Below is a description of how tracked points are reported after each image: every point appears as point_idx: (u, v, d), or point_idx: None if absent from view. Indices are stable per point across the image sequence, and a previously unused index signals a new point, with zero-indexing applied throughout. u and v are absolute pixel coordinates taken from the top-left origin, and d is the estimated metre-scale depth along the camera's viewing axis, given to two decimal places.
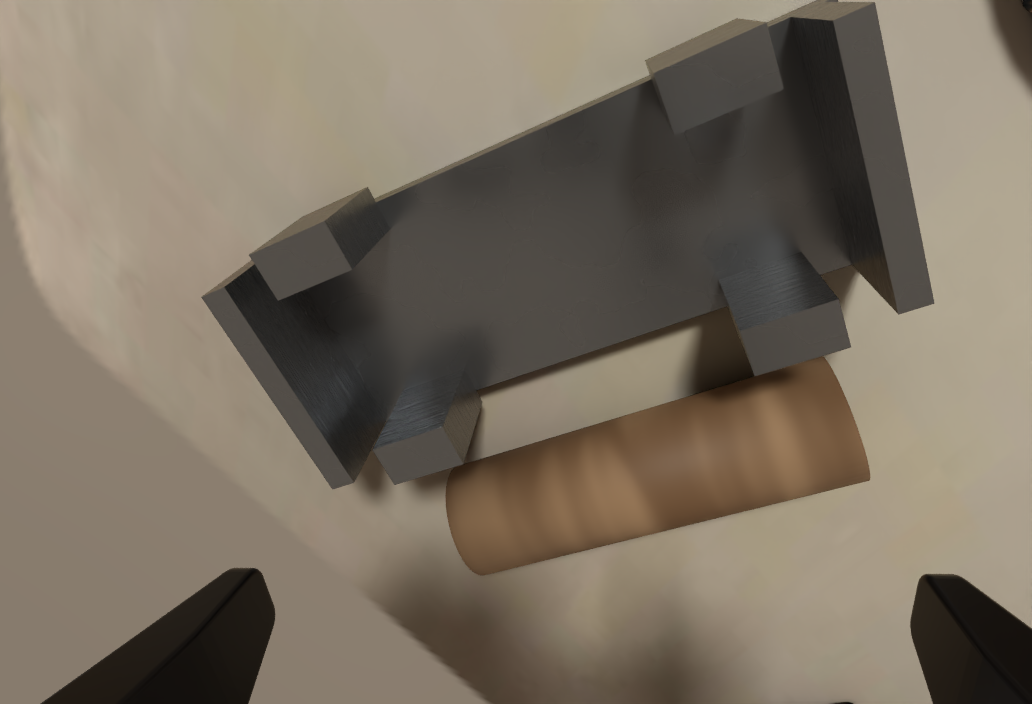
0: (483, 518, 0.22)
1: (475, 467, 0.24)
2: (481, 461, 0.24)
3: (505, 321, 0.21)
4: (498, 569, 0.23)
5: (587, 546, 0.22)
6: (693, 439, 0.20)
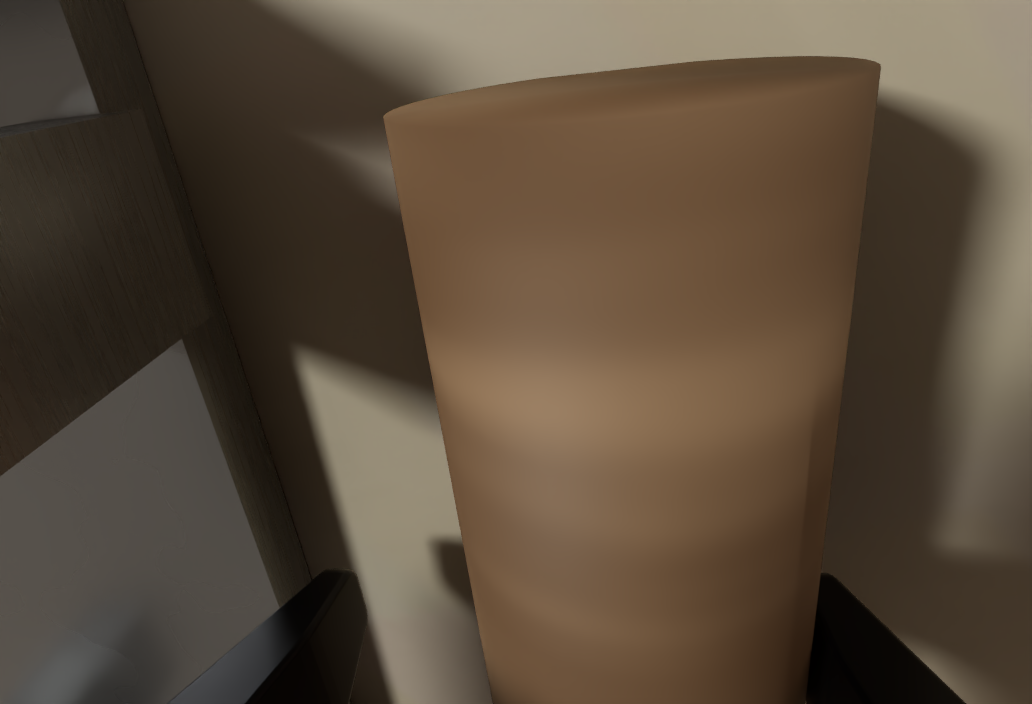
0: None
1: None
2: None
3: (196, 676, 0.11)
4: None
5: None
6: (555, 626, 0.06)
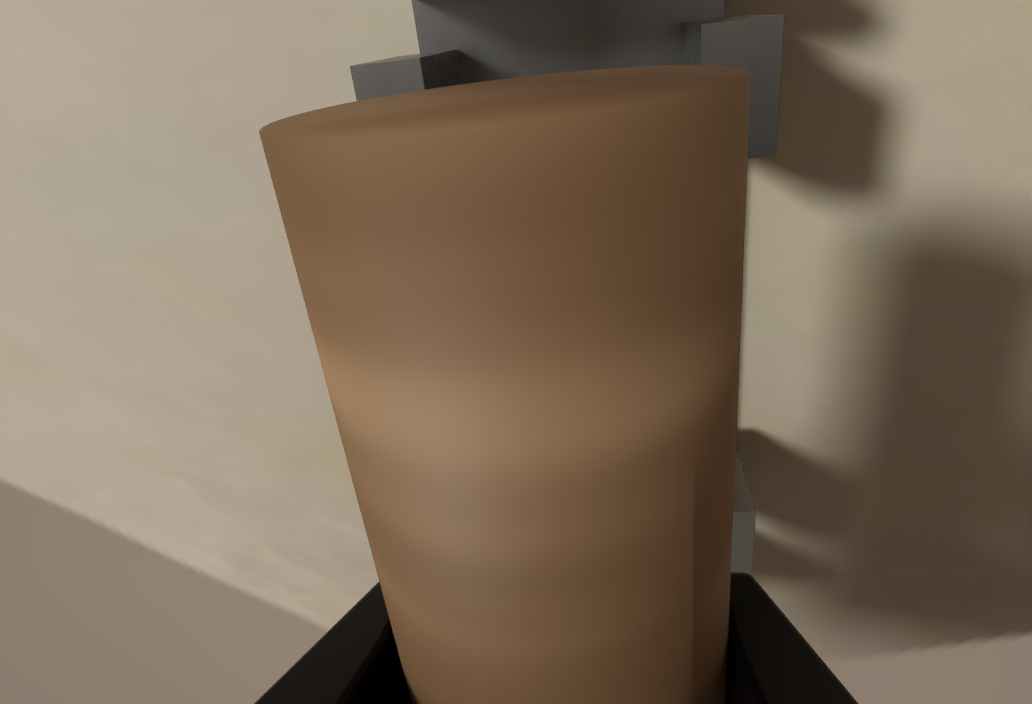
0: None
1: None
2: None
3: None
4: None
5: None
6: (383, 587, 0.07)
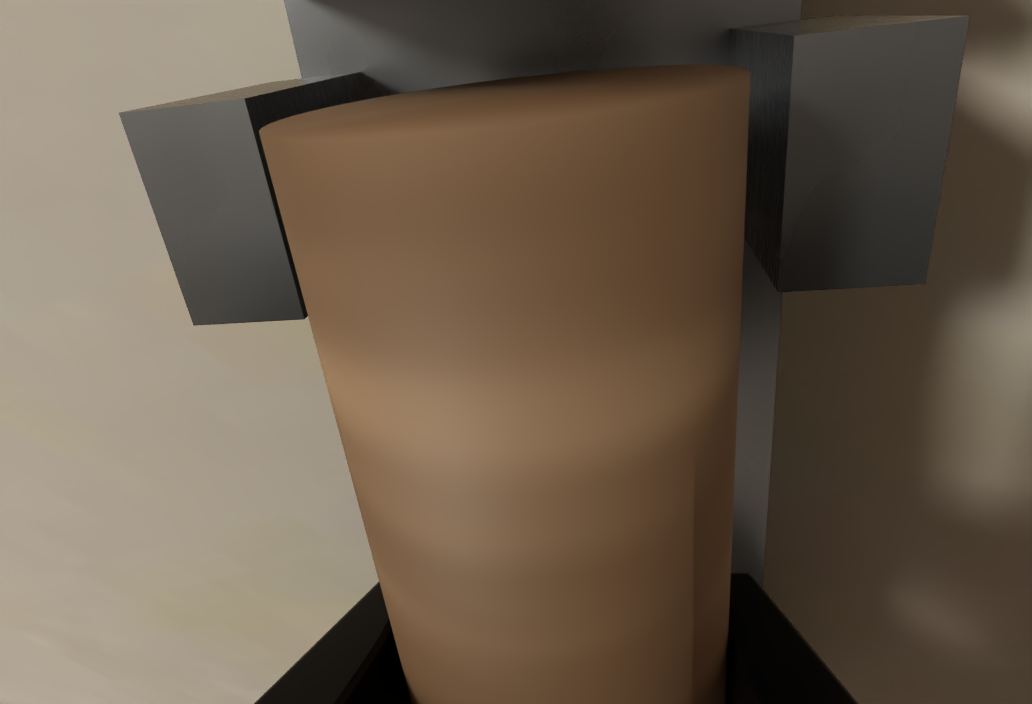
0: None
1: None
2: None
3: None
4: None
5: None
6: (384, 587, 0.07)
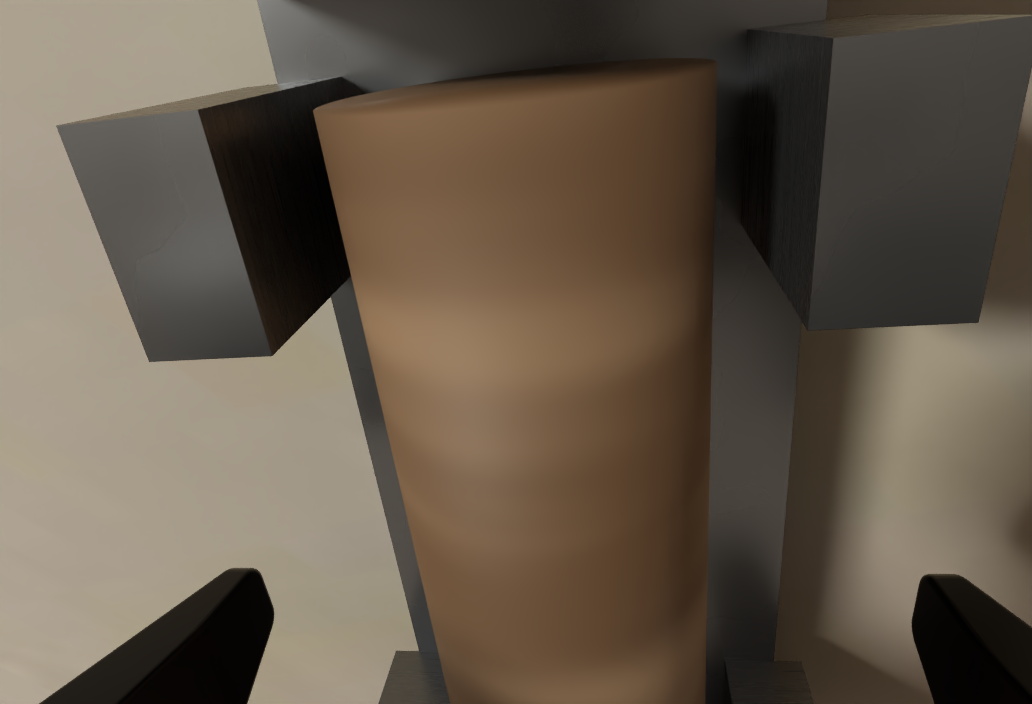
0: None
1: None
2: None
3: None
4: None
5: None
6: (406, 502, 0.08)
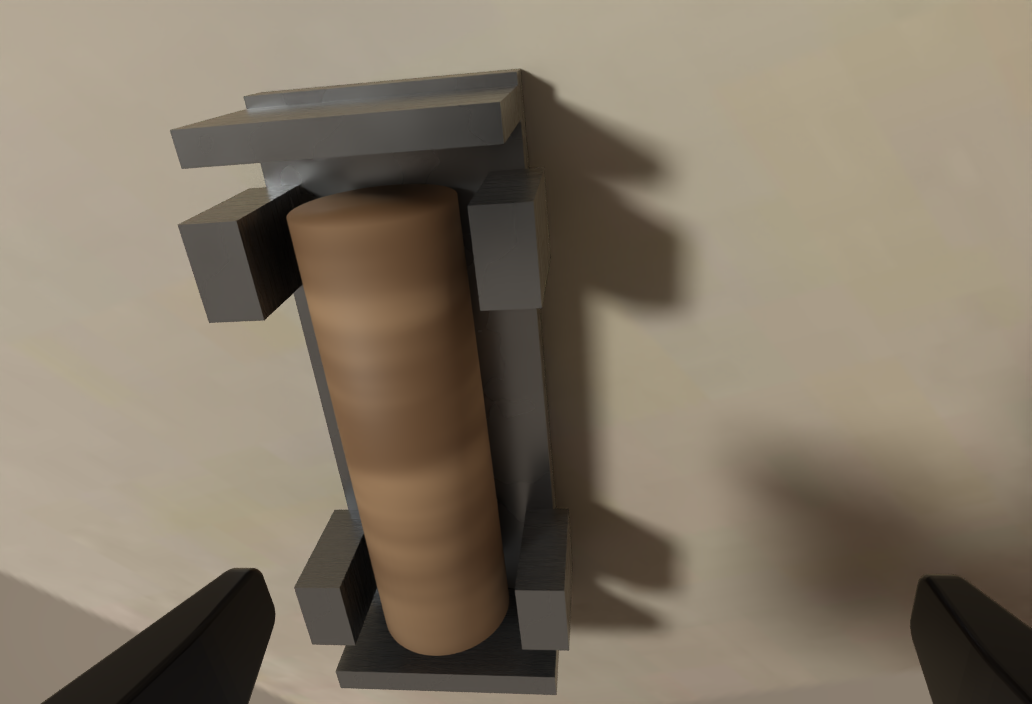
0: (394, 615, 0.20)
1: None
2: None
3: None
4: (470, 627, 0.20)
5: (451, 542, 0.18)
6: (331, 393, 0.17)
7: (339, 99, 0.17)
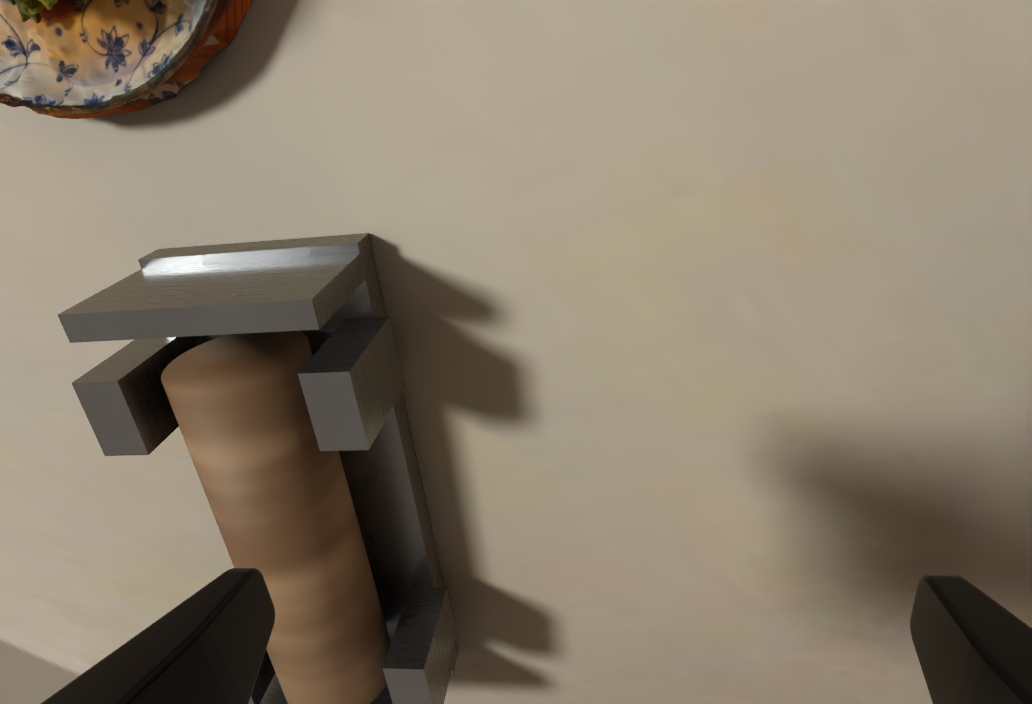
0: (283, 686, 0.23)
1: None
2: None
3: (371, 545, 0.24)
4: (347, 698, 0.23)
5: (320, 629, 0.21)
6: (211, 508, 0.20)
7: (216, 262, 0.20)
